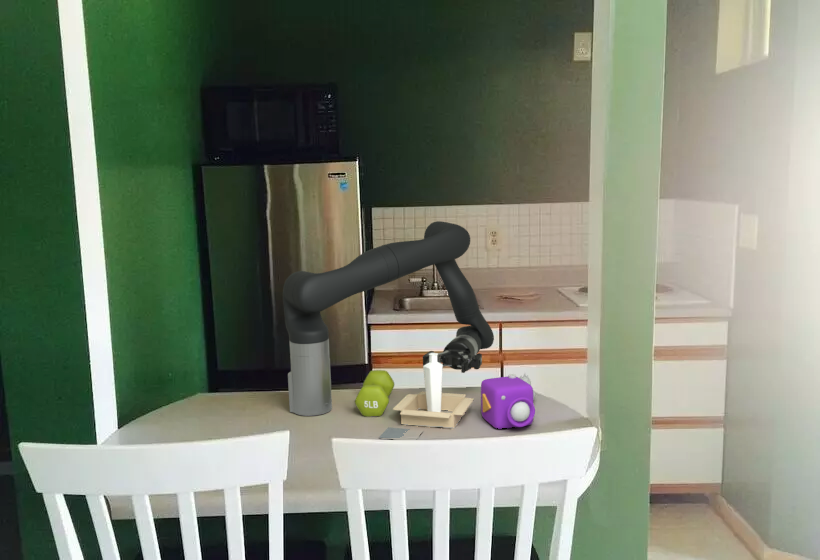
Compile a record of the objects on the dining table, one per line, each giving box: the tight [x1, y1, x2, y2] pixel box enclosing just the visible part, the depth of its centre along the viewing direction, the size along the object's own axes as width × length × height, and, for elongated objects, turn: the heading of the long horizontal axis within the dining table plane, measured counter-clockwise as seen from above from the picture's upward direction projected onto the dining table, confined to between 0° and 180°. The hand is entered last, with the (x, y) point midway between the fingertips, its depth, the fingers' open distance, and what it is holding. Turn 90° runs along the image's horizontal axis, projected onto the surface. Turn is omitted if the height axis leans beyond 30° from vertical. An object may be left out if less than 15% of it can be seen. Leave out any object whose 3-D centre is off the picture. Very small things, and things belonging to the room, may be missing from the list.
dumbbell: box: [354, 369, 395, 418], centre depth 170 cm, size 16×8×7 cm, turn 175°
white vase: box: [422, 352, 444, 412], centre depth 160 cm, size 5×4×15 cm
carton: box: [392, 391, 475, 428], centre depth 160 cm, size 16×16×4 cm
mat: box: [379, 426, 411, 438], centre depth 151 cm, size 8×6×1 cm
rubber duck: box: [519, 372, 537, 402], centre depth 169 cm, size 5×7×8 cm
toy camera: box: [480, 373, 536, 430], centre depth 155 cm, size 11×14×10 cm
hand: (445, 367), depth 169 cm, fingers open, 8 cm apart
